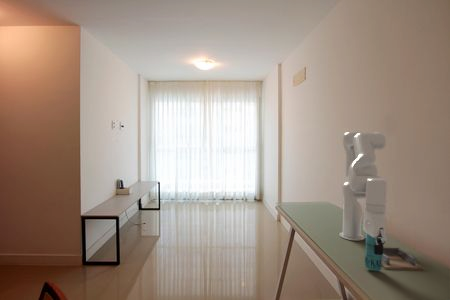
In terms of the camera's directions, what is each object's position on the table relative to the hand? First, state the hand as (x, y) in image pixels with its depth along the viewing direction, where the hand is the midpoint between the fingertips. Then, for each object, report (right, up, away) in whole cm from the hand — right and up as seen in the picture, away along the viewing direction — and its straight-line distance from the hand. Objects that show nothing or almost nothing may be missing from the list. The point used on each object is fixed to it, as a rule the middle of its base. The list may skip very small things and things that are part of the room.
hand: (373, 250), depth 113 cm
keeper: (+14, -9, +10) cm, 19 cm away
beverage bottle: (0, -9, 0) cm, 9 cm away
